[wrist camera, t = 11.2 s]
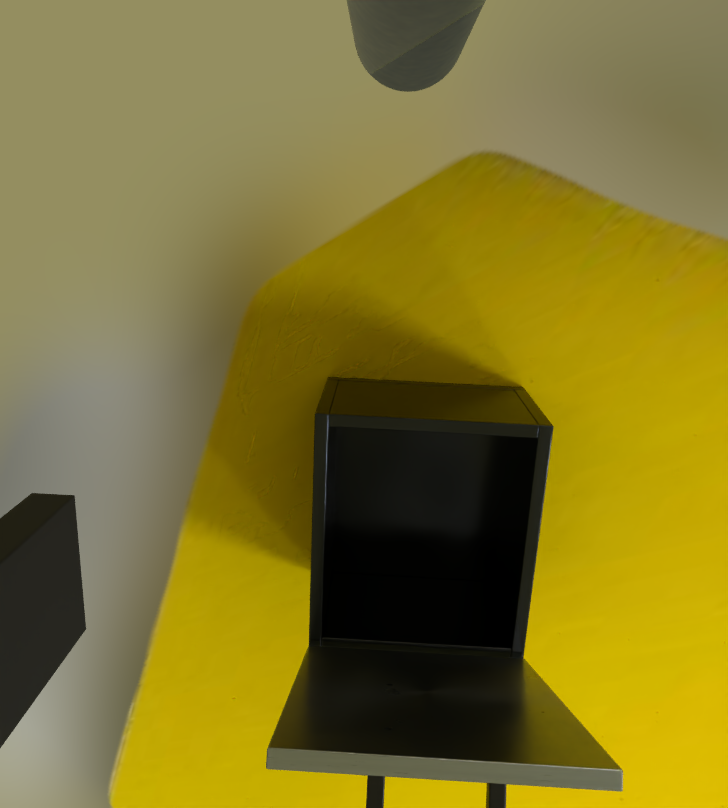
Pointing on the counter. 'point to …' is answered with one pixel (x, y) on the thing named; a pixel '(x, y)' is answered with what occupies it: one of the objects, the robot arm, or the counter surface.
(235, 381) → the counter surface
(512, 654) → the black hollow box
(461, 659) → the lid
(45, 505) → the robot arm
